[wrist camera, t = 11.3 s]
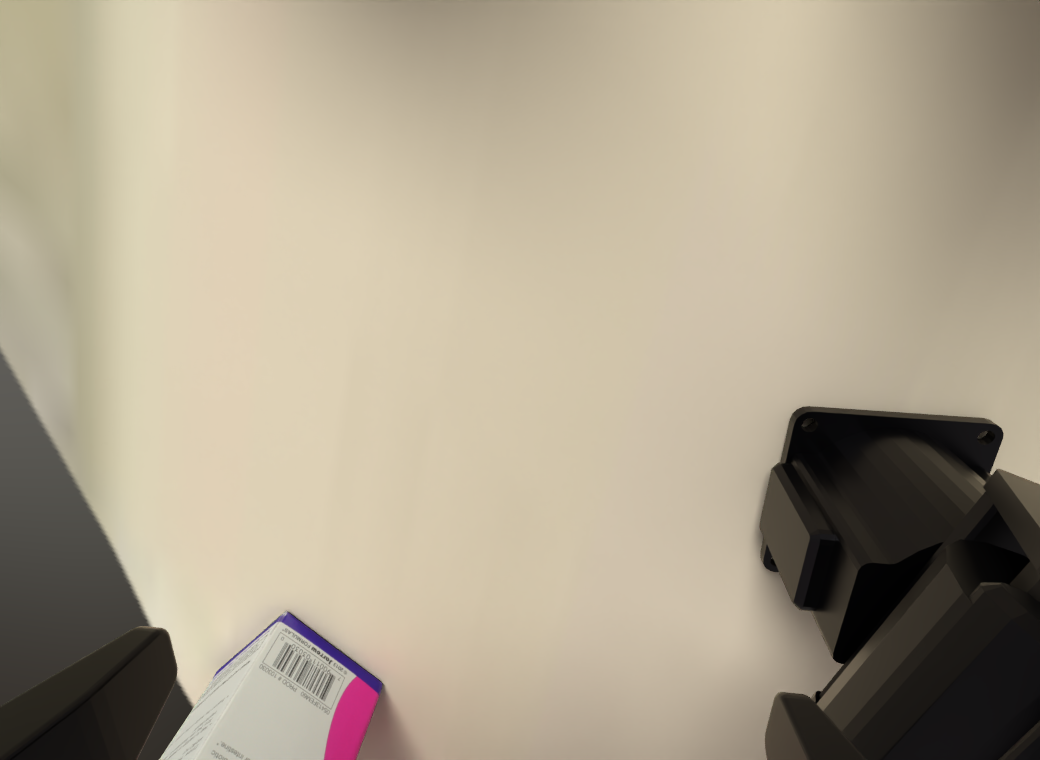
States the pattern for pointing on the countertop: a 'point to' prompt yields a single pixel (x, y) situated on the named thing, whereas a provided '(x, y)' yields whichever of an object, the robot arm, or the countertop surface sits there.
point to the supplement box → (281, 702)
